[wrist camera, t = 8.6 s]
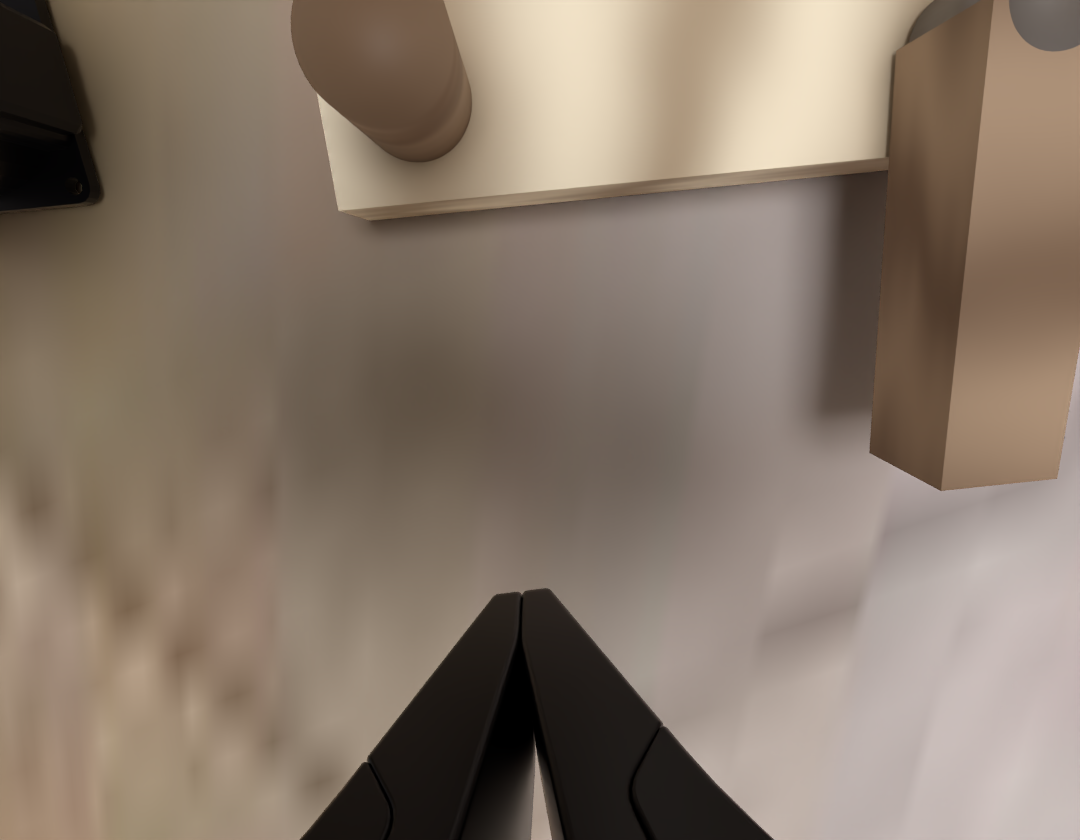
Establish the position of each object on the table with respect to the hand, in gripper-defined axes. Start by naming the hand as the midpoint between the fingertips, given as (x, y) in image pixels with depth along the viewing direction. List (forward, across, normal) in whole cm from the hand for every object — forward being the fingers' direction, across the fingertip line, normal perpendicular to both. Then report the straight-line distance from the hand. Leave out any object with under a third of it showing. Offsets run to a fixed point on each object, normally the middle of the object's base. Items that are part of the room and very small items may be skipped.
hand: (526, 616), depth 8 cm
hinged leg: (+8, -12, -4) cm, 16 cm away
